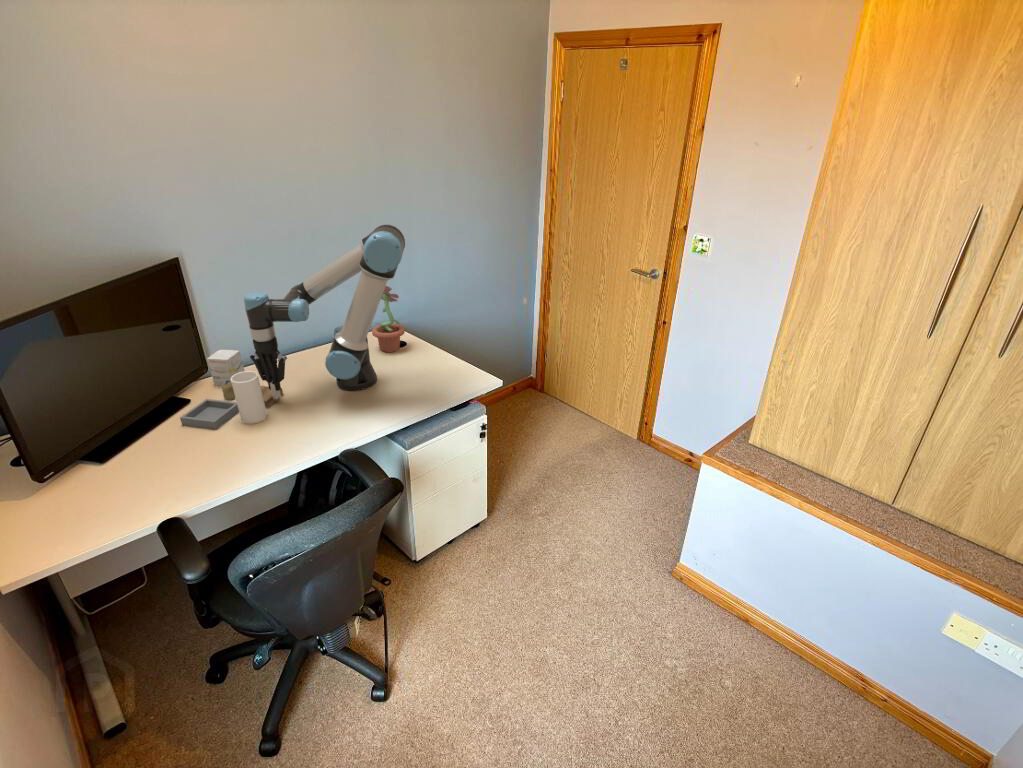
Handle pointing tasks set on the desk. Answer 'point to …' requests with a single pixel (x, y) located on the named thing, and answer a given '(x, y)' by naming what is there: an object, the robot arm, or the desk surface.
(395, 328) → the decorative flower
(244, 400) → the cup
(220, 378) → the ink box
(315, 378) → the desk surface
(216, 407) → the tray
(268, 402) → the brown wooden square block
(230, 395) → the bench dog
